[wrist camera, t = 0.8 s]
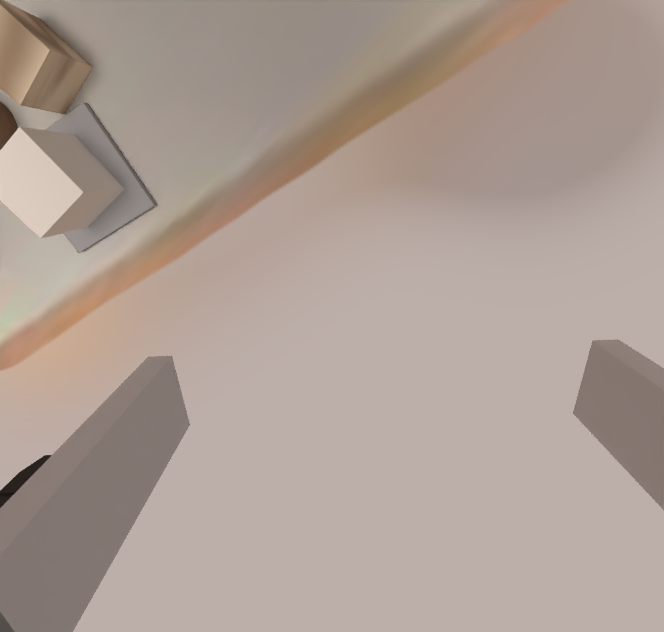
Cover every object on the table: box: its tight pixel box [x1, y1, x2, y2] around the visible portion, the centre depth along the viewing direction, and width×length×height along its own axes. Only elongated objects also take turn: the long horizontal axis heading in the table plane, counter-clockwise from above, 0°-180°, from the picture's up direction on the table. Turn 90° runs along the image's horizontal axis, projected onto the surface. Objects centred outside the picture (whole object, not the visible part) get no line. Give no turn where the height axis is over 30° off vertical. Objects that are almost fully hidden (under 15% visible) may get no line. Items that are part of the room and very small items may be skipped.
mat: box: [45, 103, 157, 253], centre depth 35 cm, size 10×10×1 cm
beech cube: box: [0, 0, 92, 114], centre depth 29 cm, size 5×5×5 cm
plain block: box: [0, 127, 125, 238], centre depth 31 cm, size 6×6×6 cm
